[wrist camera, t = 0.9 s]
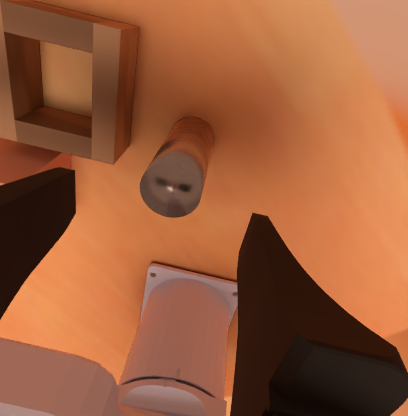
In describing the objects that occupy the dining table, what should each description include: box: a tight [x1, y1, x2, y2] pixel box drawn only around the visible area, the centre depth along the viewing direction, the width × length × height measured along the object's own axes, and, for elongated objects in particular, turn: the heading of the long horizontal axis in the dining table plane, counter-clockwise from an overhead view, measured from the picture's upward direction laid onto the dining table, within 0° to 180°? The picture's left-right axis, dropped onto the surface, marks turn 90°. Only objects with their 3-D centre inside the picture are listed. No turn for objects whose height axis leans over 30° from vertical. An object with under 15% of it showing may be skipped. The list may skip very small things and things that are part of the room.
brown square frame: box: [0, 0, 139, 164], centre depth 18 cm, size 7×7×3 cm
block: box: [0, 138, 71, 185], centre depth 20 cm, size 5×5×6 cm
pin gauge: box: [140, 117, 214, 218], centre depth 17 cm, size 3×3×7 cm
